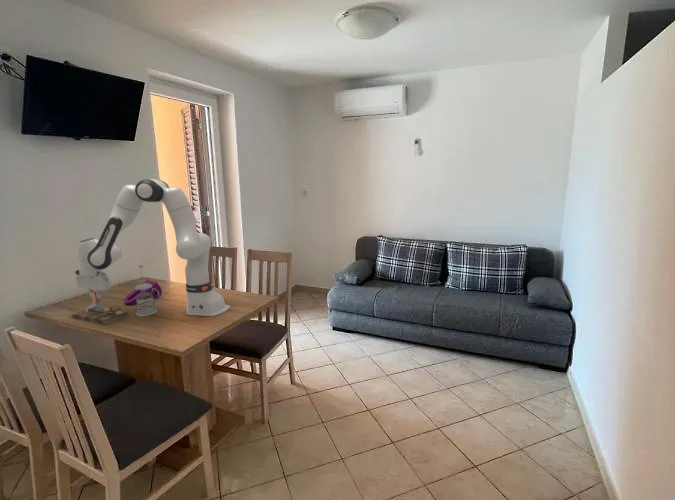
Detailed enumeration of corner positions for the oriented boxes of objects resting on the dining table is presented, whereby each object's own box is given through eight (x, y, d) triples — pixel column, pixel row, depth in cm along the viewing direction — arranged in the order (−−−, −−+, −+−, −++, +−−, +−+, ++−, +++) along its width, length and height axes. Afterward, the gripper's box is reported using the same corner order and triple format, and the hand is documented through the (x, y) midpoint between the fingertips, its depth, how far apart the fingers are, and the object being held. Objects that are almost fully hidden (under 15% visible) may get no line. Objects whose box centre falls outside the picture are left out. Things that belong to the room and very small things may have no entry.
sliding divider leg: (103, 308, 194) (100, 290, 192) (88, 313, 187) (85, 295, 185) (99, 307, 195) (96, 290, 193) (84, 312, 188) (81, 294, 186)
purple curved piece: (138, 315, 207) (164, 293, 219) (129, 303, 203) (156, 282, 214) (129, 311, 212) (154, 290, 224) (120, 300, 208) (147, 279, 220)
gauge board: (128, 315, 190) (126, 304, 189) (106, 324, 180) (104, 313, 178) (95, 309, 199) (93, 299, 198) (72, 317, 188) (70, 307, 187)
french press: (137, 310, 197) (131, 263, 192) (161, 307, 201) (156, 261, 196) (134, 317, 188) (128, 268, 183) (160, 313, 192) (154, 265, 187)
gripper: (112, 271, 188) (116, 297, 191) (84, 267, 195) (88, 293, 198) (100, 274, 182) (104, 301, 185) (71, 270, 190) (76, 297, 193)
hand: (95, 297), depth 192 cm, fingers closed on sliding divider leg, 2 cm apart
